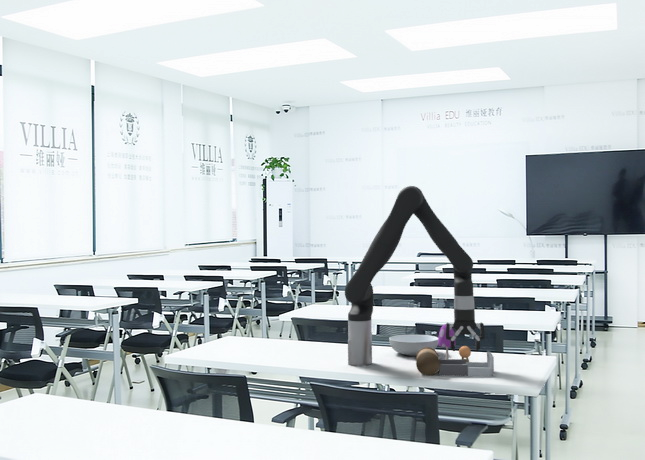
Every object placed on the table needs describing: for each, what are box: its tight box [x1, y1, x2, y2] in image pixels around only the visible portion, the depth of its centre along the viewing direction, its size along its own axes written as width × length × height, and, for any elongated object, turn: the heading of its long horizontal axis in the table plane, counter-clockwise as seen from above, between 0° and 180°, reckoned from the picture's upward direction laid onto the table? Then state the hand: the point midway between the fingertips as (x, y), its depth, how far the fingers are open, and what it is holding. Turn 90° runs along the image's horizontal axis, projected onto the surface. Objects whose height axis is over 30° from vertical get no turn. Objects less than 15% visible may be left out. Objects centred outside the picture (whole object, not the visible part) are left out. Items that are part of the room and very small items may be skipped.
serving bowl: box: [388, 334, 439, 357], centre depth 270 cm, size 21×21×7 cm
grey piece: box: [438, 351, 495, 378], centre depth 232 cm, size 19×10×7 cm, turn 82°
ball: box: [458, 345, 472, 359], centre depth 239 cm, size 4×4×4 cm
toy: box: [438, 323, 456, 359], centre depth 252 cm, size 7×7×15 cm
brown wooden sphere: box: [415, 347, 440, 377], centre depth 234 cm, size 10×8×8 cm
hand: (465, 350), depth 239 cm, fingers open, 8 cm apart
